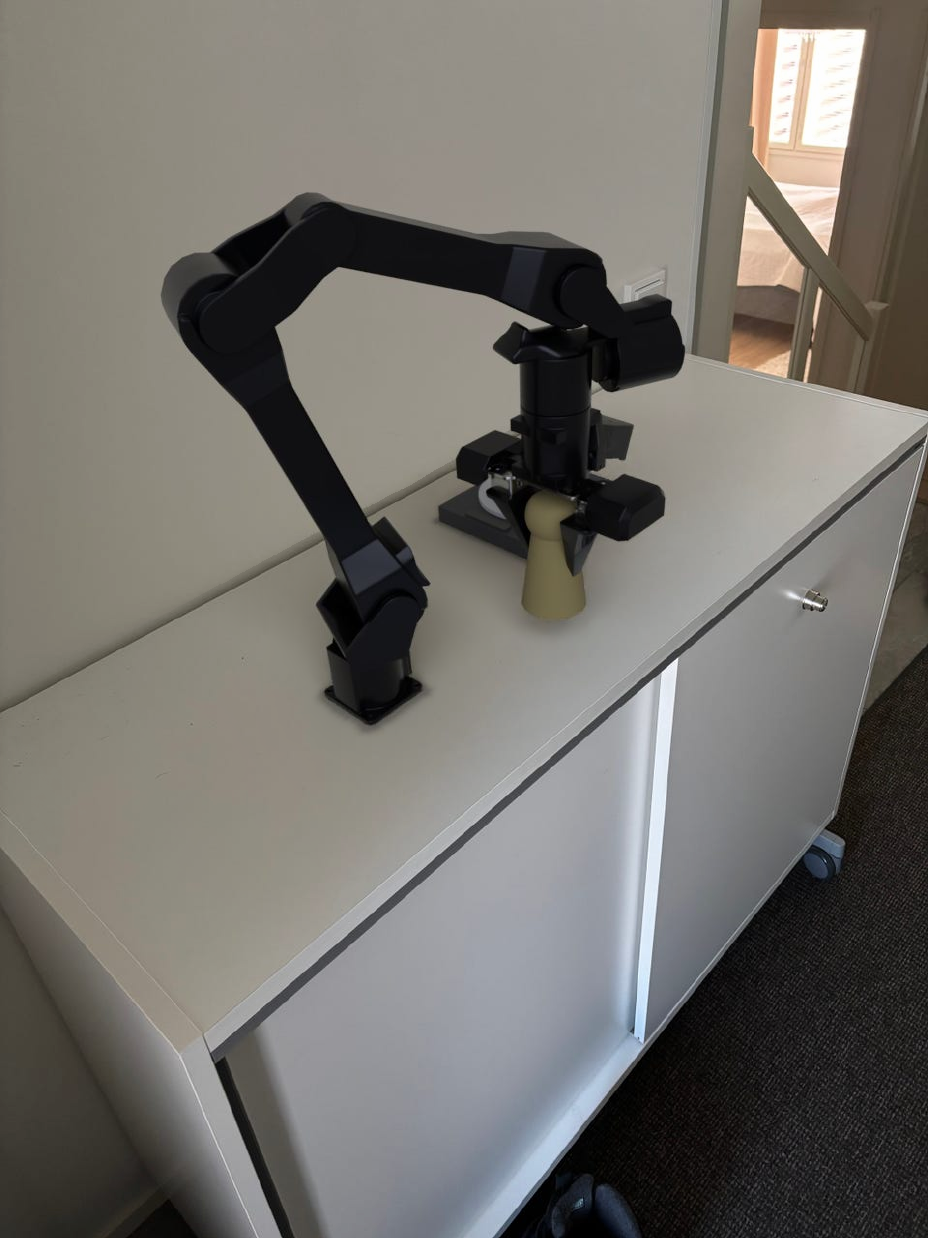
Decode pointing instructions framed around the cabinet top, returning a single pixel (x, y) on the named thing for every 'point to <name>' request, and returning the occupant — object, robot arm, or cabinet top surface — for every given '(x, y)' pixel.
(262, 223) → the robot arm
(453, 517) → the scale
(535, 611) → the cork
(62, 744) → the cabinet top surface
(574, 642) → the cabinet top surface
